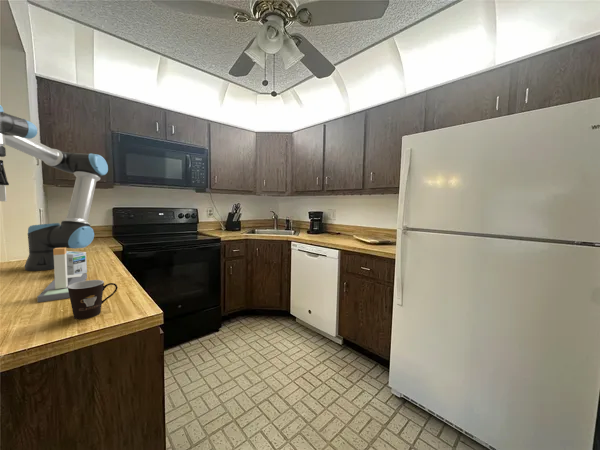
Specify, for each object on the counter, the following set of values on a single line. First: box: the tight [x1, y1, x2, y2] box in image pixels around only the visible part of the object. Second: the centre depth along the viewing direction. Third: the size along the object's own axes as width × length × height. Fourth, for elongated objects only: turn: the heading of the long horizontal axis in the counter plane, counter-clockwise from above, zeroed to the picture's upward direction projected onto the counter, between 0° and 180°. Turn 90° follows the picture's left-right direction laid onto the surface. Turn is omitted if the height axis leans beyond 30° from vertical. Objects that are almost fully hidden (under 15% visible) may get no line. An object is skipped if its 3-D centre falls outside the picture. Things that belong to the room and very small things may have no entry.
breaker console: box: [36, 272, 88, 303], centre depth 99 cm, size 28×10×2 cm, turn 35°
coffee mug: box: [68, 279, 118, 320], centre depth 77 cm, size 12×9×10 cm
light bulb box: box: [66, 250, 88, 275], centre depth 117 cm, size 11×7×11 cm, turn 84°
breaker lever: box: [53, 247, 68, 289], centre depth 92 cm, size 3×3×15 cm
